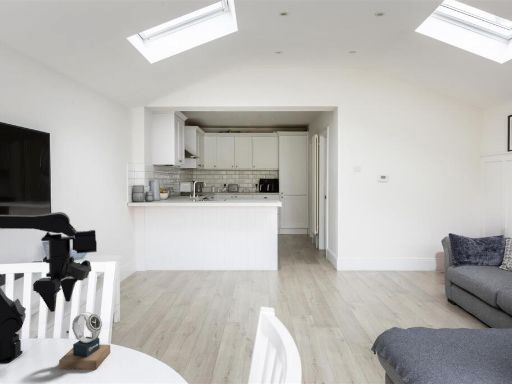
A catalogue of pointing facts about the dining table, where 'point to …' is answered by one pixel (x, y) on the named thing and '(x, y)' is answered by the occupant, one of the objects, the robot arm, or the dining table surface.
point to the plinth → (84, 359)
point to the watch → (86, 343)
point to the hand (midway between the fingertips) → (60, 306)
